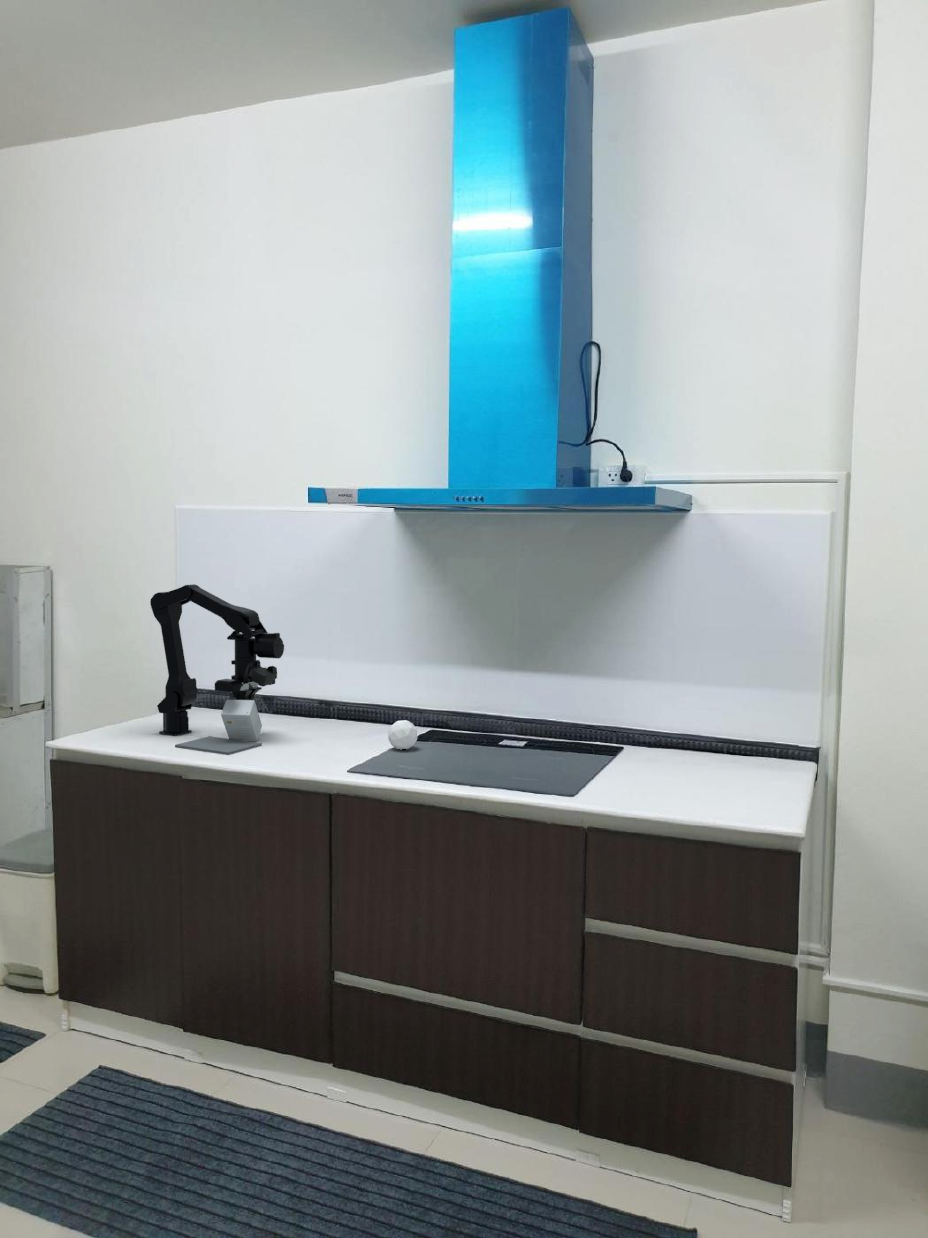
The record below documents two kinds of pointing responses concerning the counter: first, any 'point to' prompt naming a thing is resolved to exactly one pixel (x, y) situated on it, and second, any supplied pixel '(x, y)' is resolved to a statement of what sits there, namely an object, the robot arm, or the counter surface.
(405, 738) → the ball
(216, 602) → the robot arm
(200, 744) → the mat
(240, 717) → the small box
